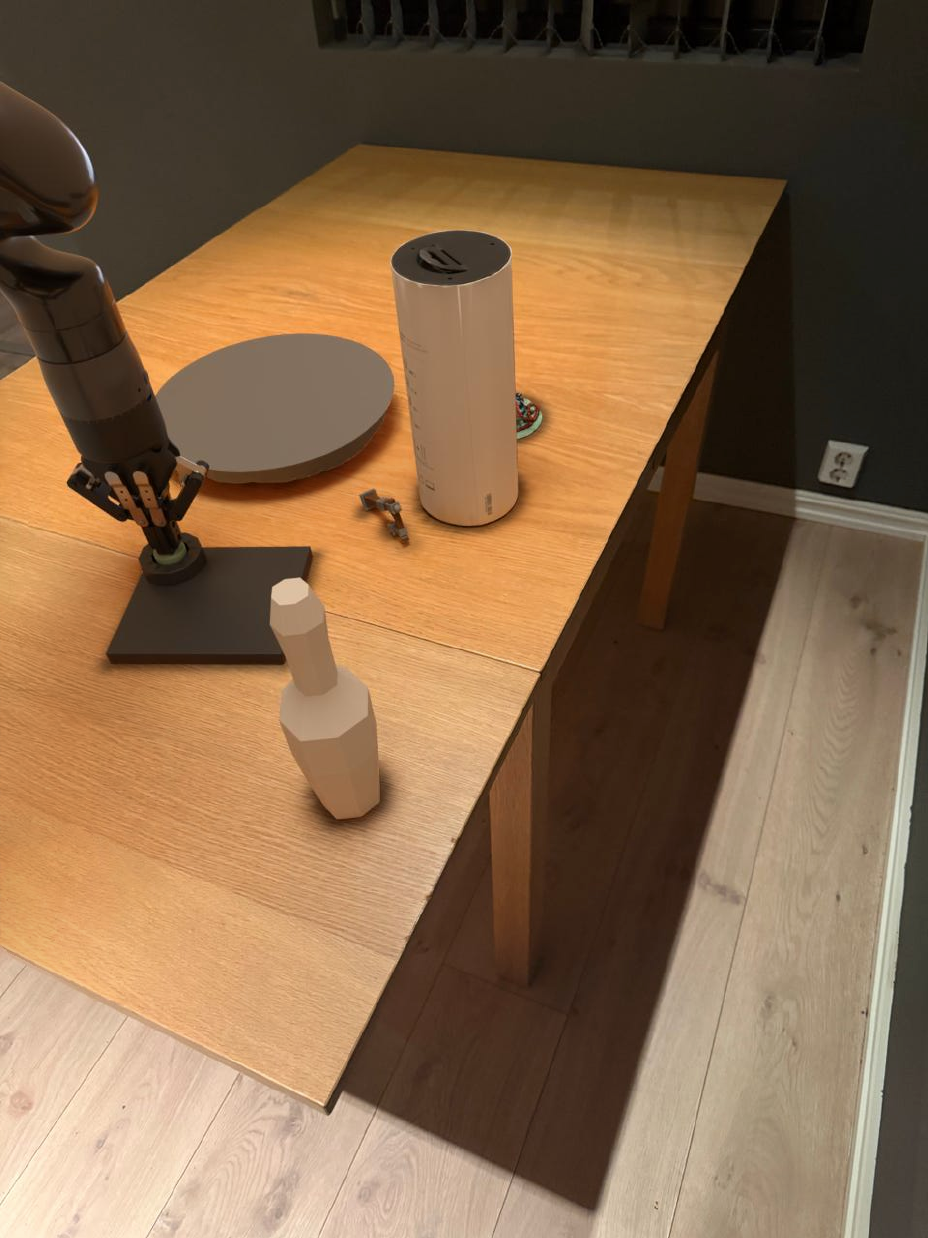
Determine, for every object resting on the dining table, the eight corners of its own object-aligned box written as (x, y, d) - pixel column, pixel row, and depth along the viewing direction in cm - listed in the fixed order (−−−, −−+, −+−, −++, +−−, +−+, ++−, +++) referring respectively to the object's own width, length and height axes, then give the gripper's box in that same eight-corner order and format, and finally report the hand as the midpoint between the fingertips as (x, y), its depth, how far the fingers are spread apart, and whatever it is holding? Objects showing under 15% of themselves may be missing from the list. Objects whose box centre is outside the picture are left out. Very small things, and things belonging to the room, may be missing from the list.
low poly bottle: (300, 777, 69) (225, 575, 54) (376, 747, 71) (325, 542, 55) (324, 842, 65) (250, 645, 49) (404, 809, 67) (357, 607, 51)
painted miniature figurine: (498, 370, 104) (511, 363, 96) (540, 414, 105) (556, 411, 98) (451, 419, 104) (460, 416, 97) (493, 462, 106) (506, 463, 98)
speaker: (533, 515, 89) (529, 262, 70) (435, 540, 88) (403, 288, 69) (501, 456, 96) (488, 213, 77) (409, 478, 95) (374, 236, 76)
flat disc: (110, 482, 98) (95, 449, 95) (237, 354, 116) (228, 322, 113) (335, 525, 90) (327, 490, 87) (434, 380, 108) (431, 347, 105)
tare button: (154, 573, 85) (148, 559, 83) (164, 552, 87) (158, 538, 86) (184, 573, 84) (179, 559, 83) (193, 551, 87) (188, 538, 85)
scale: (111, 663, 79) (98, 641, 77) (159, 554, 89) (149, 532, 87) (284, 664, 78) (276, 641, 76) (314, 553, 88) (308, 530, 85)
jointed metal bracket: (402, 546, 86) (387, 504, 84) (372, 532, 93) (358, 492, 91) (418, 539, 86) (404, 496, 85) (387, 525, 93) (373, 486, 91)
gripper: (6, 419, 70) (89, 576, 83) (166, 415, 69) (226, 575, 81) (43, 368, 75) (116, 523, 88) (193, 363, 74) (245, 522, 86)
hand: (169, 548), depth 84 cm, fingers closed
